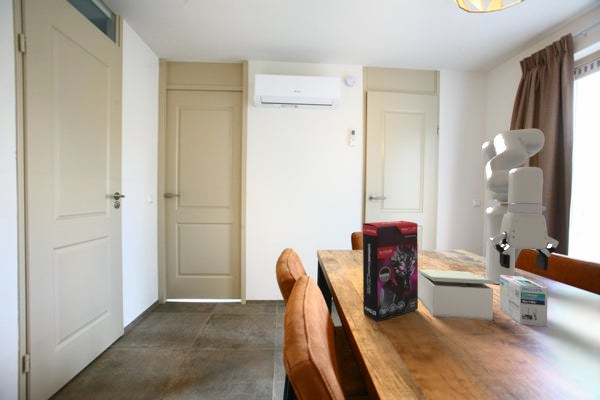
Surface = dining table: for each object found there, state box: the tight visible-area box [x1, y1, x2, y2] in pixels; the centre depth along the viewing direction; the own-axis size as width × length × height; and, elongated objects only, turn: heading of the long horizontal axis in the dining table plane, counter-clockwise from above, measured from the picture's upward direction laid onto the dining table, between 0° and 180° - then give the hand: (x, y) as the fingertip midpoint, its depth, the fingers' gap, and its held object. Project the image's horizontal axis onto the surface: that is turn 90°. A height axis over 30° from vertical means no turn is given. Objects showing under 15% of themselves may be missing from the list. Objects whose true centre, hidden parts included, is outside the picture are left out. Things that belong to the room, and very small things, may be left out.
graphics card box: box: [362, 220, 419, 322], centre depth 77 cm, size 17×7×27 cm, turn 117°
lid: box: [418, 268, 494, 285], centre depth 80 cm, size 16×14×1 cm
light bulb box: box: [498, 275, 549, 327], centre depth 75 cm, size 11×7×11 cm, turn 168°
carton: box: [418, 272, 494, 321], centre depth 80 cm, size 16×14×9 cm
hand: (523, 268), depth 74 cm, fingers open, 9 cm apart
